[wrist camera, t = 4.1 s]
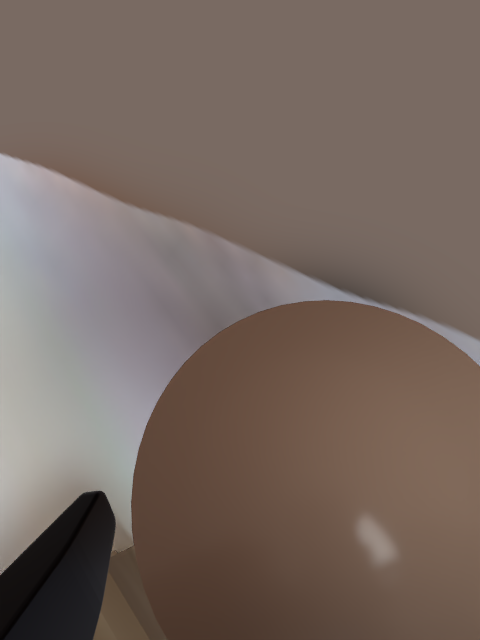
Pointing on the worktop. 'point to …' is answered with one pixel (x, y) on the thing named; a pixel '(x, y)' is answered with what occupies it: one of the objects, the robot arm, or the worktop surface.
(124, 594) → the tray
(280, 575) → the brown dome-top cylinder
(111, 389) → the worktop surface
